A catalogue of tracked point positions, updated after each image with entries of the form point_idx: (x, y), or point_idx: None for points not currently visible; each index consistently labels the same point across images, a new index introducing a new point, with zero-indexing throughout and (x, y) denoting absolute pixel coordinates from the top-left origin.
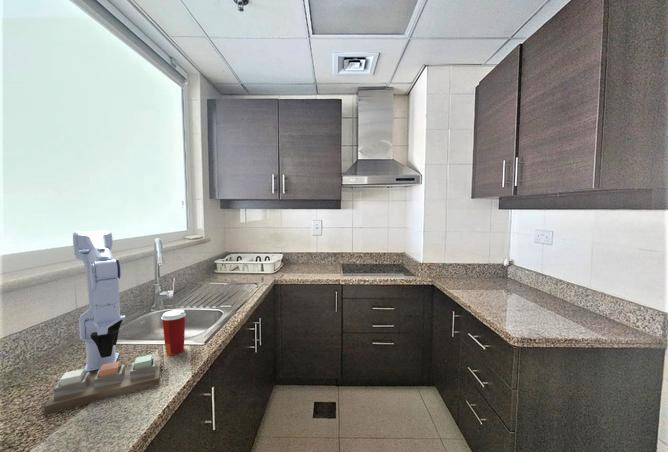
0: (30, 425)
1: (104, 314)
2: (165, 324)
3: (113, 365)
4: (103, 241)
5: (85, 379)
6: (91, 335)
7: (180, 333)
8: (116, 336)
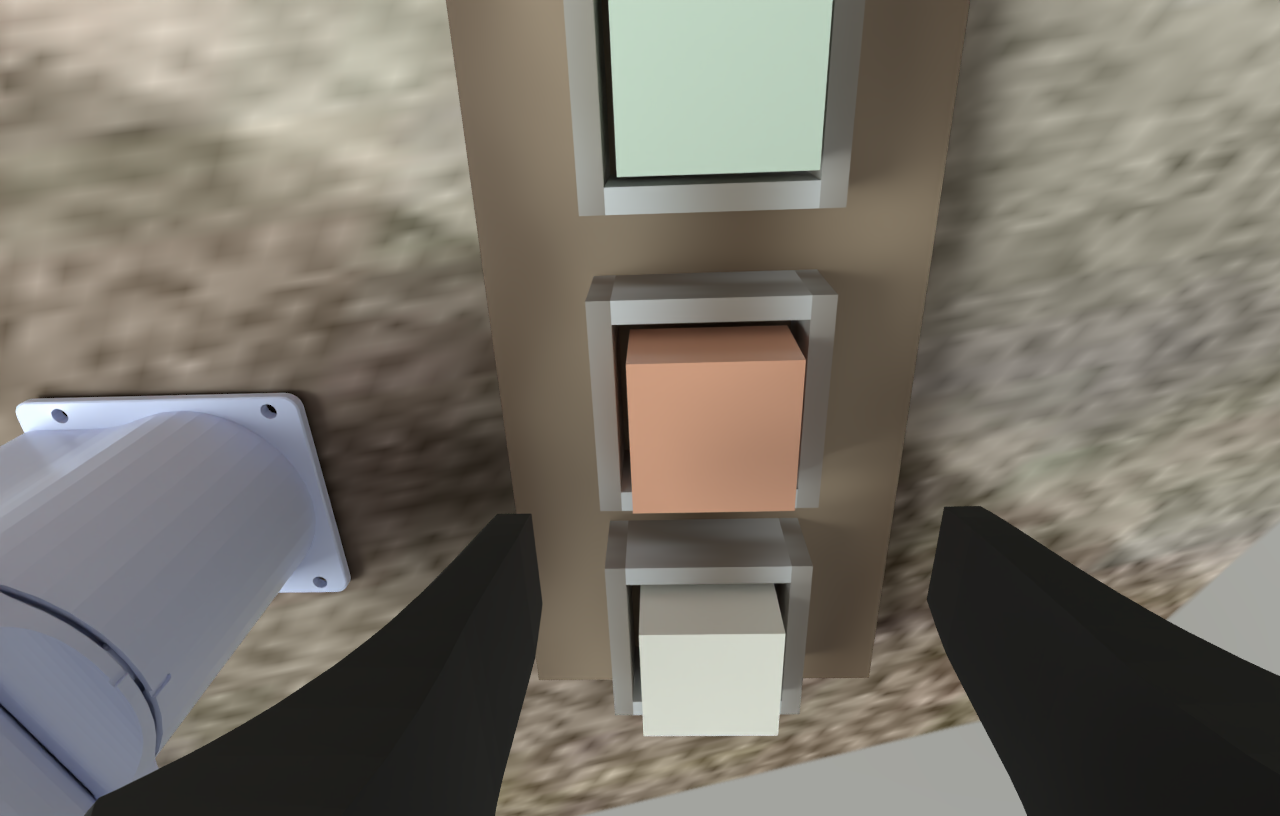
0: (939, 662)
1: None
2: None
3: (721, 406)
4: None
5: (761, 567)
6: None
7: None
8: (488, 600)
